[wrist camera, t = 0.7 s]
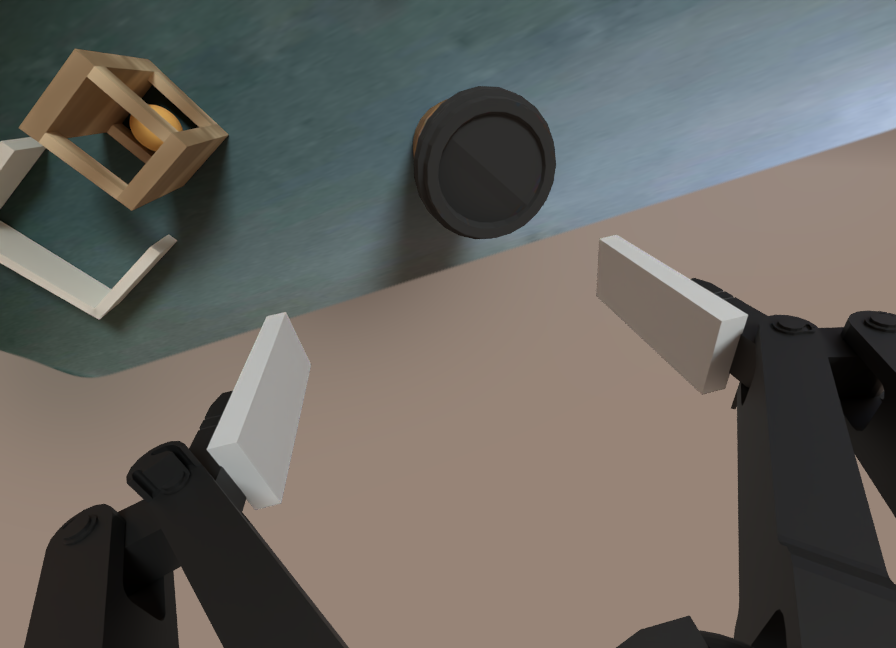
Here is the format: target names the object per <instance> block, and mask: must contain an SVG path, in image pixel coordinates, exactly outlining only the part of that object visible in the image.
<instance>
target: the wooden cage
mask: <svg viewBox="0 0 896 648" xmlns="http://www.w3.org/2000/svg"><path fill="white" fill-rule="evenodd" d="M152 85H154V86H155V87H156V88H157V89H158V90H159V91H160V92H161V93H162V94H163V95H165V96H166V97H167V98H168V99H169V100H170V101H171V102H172V103H173V104H174V105H176V106H177V107H178V108H179V109H180V110H181V111H182V112H183V113H184V114H185V115H186V116H188V117H189V118H190V119H191V120H192V121H193V122H194V123H195V124H196V125H197V126H199V127H200V128H195V129H189V130H184V131H177V130H176V129H175V128H174V127H173V126H172V125H171V124H170V123H168V122H167V121H166V120H165V119H164V118H163V117H162V116H160V115H159V114H158V113H157V112H156V111H155V110H154V109H153V108H151V107H150V106H149V105H148V104H147V103H146V102H145V101H143V100H142V97H143V96H144V95H145V94H146V92H147V91H148V90H149V89H150V87H151V86H152ZM129 114H131V115H132V116H134V117H135V118H136V119H137V120H138V121H139V122H141V123H142V124H143V125H144V126H145V127H147V128H148V129H149V130H150V131H151V132H152V133H154V134H155V135H156V136H157V137H158V138H159V139H161V140H162V141H163V142H164V143H163V144H162V145H161V146H160V147H159V149H158V150H157V151H153V150H150V149H148V148H146V147H145V146H143V145H142V144H141V143H140V142H139V141H138V140H137V139H136V138H135V137H134V135H133V133H132V132H131V131H130V130H129V129H128V128H127V127H125V126H124V125H123V124H122V123H123V121H124V120H125V119H126V118H127V116H128V115H129ZM19 128H20V129H21V130H22V131H24V132H25V133H26V134H28V135H29V136H30V137H32V138H33V139H35V140H36V141H37V142H39V143H40V144H41V145H43V146H44V147H45V148H47V149H48V150H50V151H51V152H52V153H54V154H55V155H56V156H58V157H59V158H60V159H62V160H63V161H65V162H66V163H67V164H69V165H70V166H71V167H73V168H74V169H75V170H77V171H78V172H80V173H81V174H82V175H84V176H85V177H86V178H88V179H89V180H90V181H92V182H93V183H95V184H96V185H97V186H99V187H100V188H101V189H103V190H104V191H105V192H107V193H108V194H110V195H111V196H112V197H114V198H115V199H116V200H118V201H119V202H121V203H122V204H123V205H125V206H126V207H127V208H129V209H130V210H131V211H132V210H135V209H137V208H139V207H141V206H143V205H145V204H147V203H149V202H151V201H153V200H155V199H157V198H159V197H162V196H164V195H166V194H168V193H170V192H172V191H174V190H176V189H178V188H180V187H182V186H184V185H185V184H186V182H187V181H188V180H189V179H190V178H191V177H192V176H193V175H194V173H195V172H196V171H197V170H198V169H199V168H200V167H201V165H202V164H203V163H204V162H205V161H206V160H207V159H208V158H209V156H210V155H211V154H212V153H213V152H214V151H215V150H216V149H217V147H218V146H219V145H220V144H221V143H222V142H223V141H224V140H225V138H226V137H227V136H228V134H227V133H226V132H225V131H224V130H223V129H222V128H221V127H220V126H219V125H218V124H217V123H216V122H215V121H213V120H212V119H211V118H210V117H209V116H208V115H207V114H206V113H205V112H204V111H203V110H202V109H201V108H200V107H199V106H198V105H196V104H195V103H194V102H193V101H192V100H191V99H190V98H189V97H188V96H187V95H186V94H185V93H184V92H183V91H182V90H180V89H179V88H178V87H177V86H176V85H175V84H174V83H173V82H172V81H171V80H170V79H169V78H168V77H167V76H166V75H165V74H163V73H162V72H161V71H160V70H159V69H158V68H157V67H156V66H155V65H154V64H153V63H152V62H151V61H150V60H148V59H141V58H135V57H128V56H121V55H114V54H108V53H101V52H94V51H87V50H80V49H74V51H73V52H72V54H71V55H70V56H69V58H68V59H67V61H66V62H65V63H64V65H63V66H62V68H61V69H60V70H59V72H58V73H57V75H56V76H55V77H54V79H53V80H52V82H51V83H50V84H49V86H48V87H47V89H46V90H45V91H44V93H43V94H42V96H41V97H40V98H39V100H38V101H37V103H36V104H35V105H34V107H33V108H32V110H31V111H30V113H29V114H28V115H27V117H26V118H25V120H24V121H23V122H22V124H21V125H20V127H19ZM106 132H107V133H108V134H109V135H110V136H112V137H113V138H114V139H115V140H117V141H118V142H119V143H120V144H122V145H123V146H124V147H125V148H127V149H128V150H129V151H130V152H132V153H133V154H134V155H135V156H137V157H138V158H139V159H140V160H142V161H143V162H144V163H145V165H144V166H143V168H142V169H141V170H140V171H139V172H138V174H137V175H136V176H135V177H134V178H133V180H132V181H131V182H130V183H129V184H128V185H127V184H126V183H125V182H124V181H122V180H121V179H120V178H118V177H117V176H116V175H114V174H113V173H112V172H110V171H109V170H108V169H106V168H105V167H104V166H102V165H101V164H100V163H99V162H97V161H96V160H95V159H93V158H92V157H91V156H89V155H88V154H87V153H85V152H84V151H83V150H81V149H80V148H79V147H78V146H76V145H75V144H74V143H72V142H71V141H70V140H68V139H67V138H71V137H78V136H85V135H92V134H99V133H106Z"/></svg>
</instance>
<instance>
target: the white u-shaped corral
mask: <svg viewBox="0 0 896 648" xmlns="http://www.w3.org/2000/svg"><path fill="white" fill-rule="evenodd" d="M45 149H46V148H45V147H44V146H43V145H41V144H40V143H39V142H37V141H36V140H35V139H33V138H32V137H28V138H20V139H12V140H4V141H0V209H1V208H2V206H3V205H4V204H5V202H6V201H7V200H8V198H9V197H10V196H11V194H12V193H13V192H14V190H15V189H16V188H17V186H18V185H19V184H20V182H21V181H22V180H23V178H24V177H25V176H26V174H27V173H28V172H29V170H30V169H31V167H32V166H33V165H34V163H35V162H36V161H37V159H38V158H39V157H40V155H41V154H42V153H43V151H44V150H45ZM176 242H177V240H176V239H174V238H173V237H172V236H170V235H169V234H168V235H167V236H165V237H164V238H162V239H161V240H159V241H158V242H156V243H155V244H154V245H152V246H151V247H150V248H149V249H148V250H147V251H146V252H145V253H144V254H143V255H142V257H141V258H140V259H139V260H138V261H137V262H136V263H135V264H134V265H133V266H132V268H131V269H130V270H129V271H128V272H127V273H126V274H125V275H124V276H123V278H122V279H121V280H120V281H119V282H118V283H117V284H116V285H115V286H114V287H113V289H110V288H108V287H107V286H105V285H104V284H102V283H100V282H99V281H97V280H95V279H94V278H92V277H91V276H89V275H87V274H86V273H84V272H83V271H81V270H79V269H78V268H76V267H74V266H73V265H71V264H70V263H68V262H66V261H65V260H63V259H62V258H60V257H58V256H57V255H55V254H54V253H52V252H50V251H49V250H47V249H45V248H44V247H42V246H41V245H39V244H37V243H36V242H34V241H33V240H31V239H29V238H28V237H26V236H24V235H23V234H21V233H20V232H18V231H16V230H15V229H13V228H12V227H10V226H8V225H7V224H5V223H3V222H2V221H0V263H1V264H3V265H5V266H6V267H8V268H10V269H12V270H13V271H15V272H17V273H19V274H20V275H22V276H24V277H26V278H27V279H29V280H31V281H33V282H34V283H36V284H38V285H39V286H41V287H43V288H45V289H46V290H48V291H50V292H52V293H53V294H55V295H57V296H59V297H60V298H62V299H64V300H66V301H67V302H69V303H71V304H73V305H74V306H76V307H78V308H80V309H81V310H83V311H85V312H86V313H88V314H90V315H92V316H93V317H95V318H97V319H99V320H100V319H101V318H102V317H103V316H104V315H106V314H107V313H108V312H109V311H111V310H112V309H113V308H114V307H115V306H117V305H118V304H119V303H120V302H121V301H122V300H123V299H124V298H125V297H126V296H127V295H128V294H129V293H130V291H131V290H132V289H133V288H134V287H135V286H136V285H137V284H138V283H139V282H140V281H141V280H142V278H143V277H144V276H145V275H146V274H147V273H148V272H149V271H150V270H151V269H152V268H153V267H154V265H155V264H156V263H157V262H158V261H159V260H160V259H161V258H162V257H163V256H164V255H165V254H166V252H167V251H168V250H169V249H170V248H171V247H172V246H173V245H174V244H175V243H176Z"/></svg>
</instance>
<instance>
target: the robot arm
mask: <svg viewBox="0 0 896 648" xmlns="http://www.w3.org/2000/svg"><path fill="white" fill-rule="evenodd" d="M596 296H597V297H598V298H599V299H600V300H601V301H602V302H603V303H604V304H606V305H607V306H608V307H609V308H610V309H611V310H612V311H613V312H614V313H615V314H616V315H617V316H618V317H620V318H621V319H622V320H623V321H624V322H625V323H626V324H627V325H628V326H629V327H630V328H631V329H632V330H633V331H634V332H636V333H637V334H638V335H639V336H640V337H641V338H642V339H643V340H644V341H645V342H646V343H647V344H648V345H649V346H650V347H652V348H653V349H654V350H655V351H656V352H657V353H658V354H659V355H660V356H661V357H662V358H663V359H664V360H665V361H666V362H668V363H669V364H670V365H671V366H672V367H673V368H674V369H675V370H676V371H677V372H678V373H679V374H681V376H683V377H684V378H685V379H686V380H687V381H688V382H689V383H690V384H691V385H692V386H694V388H695V389H696V390H697V391H699V392H700V393H701V394H702V395H703V394H707V393H711V392H714V391H718V390H722V389H725V388H726V384H727V381H728V378H729V374H731V375H733V376H734V377H735V378H736V379H738V380H739V381H740V383H739V386H738V389H737V392H736V395H735V398H734V401H733V404H732V407H731V408H732V409H736V407H737V430H738V431H737V438H738V521H739V522H738V523H739V525H738V526H739V527H738V528H739V611H738V617H737V622H736V626H735V633H734V639H733V638H730V637H727V636H724V635H721V634H716V633H711V632H706V631H699V630H698V629H697V627H696V625H695V624H694V622H693V620H692V619H691V617H690V616H686V617H683V618H679V619H676V620H673V621H669V622H666V623H662V624H659V625H655V626H652V627H648V628H645V629H641V630H639V631H638V632H636V633H635V634H634V635H633V636H631V637H630V638H628V639H627V640H626V641H625V642H623V643H622V644H620V645H619V646H618V647H616V648H896V584H894V583H893V582H892V581H891V580H890V578H889V576H888V573H887V571H886V567H885V563H884V560H883V556H882V552H881V549H880V545H879V541H878V538H877V534H876V530H875V527H874V523H873V520H872V516H871V513H870V509H869V505H868V501H867V498H866V494H865V490H864V487H863V483H862V480H861V476H860V472H859V469H858V465H857V461H856V458H855V455H856V457H857V458H858V460H859V461H860V463H861V465H862V466H863V468H864V469H865V471H866V472H867V474H868V475H869V477H870V479H871V480H872V482H873V483H874V485H875V486H876V488H877V489H878V491H879V493H880V494H881V496H882V497H883V499H884V500H885V502H886V503H887V505H888V506H889V508H890V509H891V511H892V513H893V514H894V516H895V517H896V315H895V314H891V313H887V312H881V311H878V312H877V311H860V312H856V313H853V314H851V315H850V316H849V318H848V320H847V322H846V324H845V326H844V327H838V328H818V327H817V326H816V325H814V324H812V323H811V322H809V321H807V320H804V319H801V318H799V317H793V316H789V315H773V316H767V315H765V314H763V313H761V312H760V311H758V310H756V309H755V308H752V307H751V306H749V305H747V304H746V303H744V302H743V301H741V300H739V299H737V298H736V297H735V298H733V296H732V295H731V294H729V293H727V292H723V290H722V289H720V288H718V287H717V286H715V285H713V284H712V283H709V282H706V281H703V280H699V279H696V278H692V279H689V278H687V277H685V276H683V275H682V274H680V273H679V272H677V271H675V270H674V269H672V268H671V267H669V266H667V265H666V264H664V263H662V262H661V261H659V260H657V259H656V258H654V257H652V256H651V255H649V254H647V253H646V252H644V251H643V250H641V249H639V248H638V247H636V246H634V245H632V244H631V243H629V242H628V241H626V240H624V239H623V238H621V237H620V236H618V235H614V236H609V237H605V238H601V239H599V254H598V273H597V293H596ZM310 367H311V363H310V361H309V359H308V357H307V355H306V353H305V351H304V349H303V347H302V345H301V343H300V340H299V338H298V337H297V334H296V332H295V330H294V328H293V326H292V324H291V322H290V320H289V317H288V315H287V313H286V312H284V313H279V314H275V315H271V316H267V317H266V319H265V321H264V324H263V326H262V328H261V330H260V333H259V335H258V337H257V339H256V341H255V344H254V346H253V348H252V350H251V353H250V355H249V357H248V359H247V361H246V364H245V366H244V368H243V370H242V373H241V375H240V377H239V379H238V381H237V383H236V386H235V388H234V390H233V391H230V392H225V393H222V394H221V395H220V396H219V397H218V398H217V399H216V401H215V402H214V403H213V404H212V405H211V406H210V408H209V410H208V412H207V414H206V416H205V420H203V422H202V424H201V426H200V430H199V431H198V432H197V434H196V436H195V438H194V440H193V442H192V444H191V446H190V448H189V449H188V447H187V446H186V445H185V444H184V443H182V442H180V441H171V442H167V443H164V444H161V445H159V446H157V447H155V448H153V449H152V450H150V451H148V452H147V453H146V454H144V455H143V456H142V457H141V458H139V459H138V460H137V462H136V463H135V464H134V465H133V466H132V467H131V469H130V470H129V473H128V474H127V484H128V485H129V486H130V487H131V488H132V489H134V490H135V491H136V492H137V493H138V494H139V495H140V496H141V497H142V498H143V499H144V500H142V501H140V502H138V503H136V504H134V505H131V506H130V507H127V508H125V509H123V510H121V511H119V512H117V511H115V510H114V509H113V508H112V507H111V506H108V505H106V504H101V505H95V506H92V507H90V508H88V509H86V510H83V511H82V512H80V513H78V514H77V515H75V516H74V517H72V518H71V519H70V520H68V521H67V522H66V523H65V524H64V525H63V526H62V527H61V528H60V529H59V530H58V531H57V532H56V533H55V535H54V536H53V537H52V539H51V540H50V542H49V544H48V547H47V549H46V553H45V557H44V561H43V566H42V570H41V575H40V580H39V584H38V588H37V592H36V597H35V601H34V605H33V610H32V614H31V619H30V623H29V628H28V632H27V637H26V641H25V645H24V648H179V642H178V628H177V614H176V601H175V588H174V574H173V570H175V569H177V568H179V567H180V566H181V567H182V569H183V571H184V573H185V575H186V577H187V579H188V580H189V582H190V584H191V586H192V588H193V590H194V592H195V594H196V596H197V598H198V599H199V601H200V603H201V605H202V607H203V609H204V611H205V613H206V615H207V616H208V618H209V620H210V622H211V624H212V626H213V628H214V630H215V632H216V634H217V636H218V637H219V639H220V641H221V643H222V645H223V647H224V648H348V646H347V645H346V643H345V642H344V641H343V640H342V638H341V637H340V636H339V635H338V633H337V632H336V631H335V630H334V628H333V627H332V626H331V624H330V623H329V622H328V621H327V620H326V618H325V617H324V615H323V614H322V613H321V612H320V611H319V609H318V608H317V607H316V605H315V604H314V603H313V601H312V600H311V599H310V598H309V596H308V595H307V594H306V593H305V591H304V590H303V589H302V588H301V586H300V585H299V584H298V582H297V581H296V580H295V579H294V577H293V576H292V575H291V573H289V571H288V570H287V568H286V567H285V566H284V565H283V564H282V562H281V561H280V560H279V558H278V557H277V556H276V554H275V553H274V552H273V551H272V549H271V548H270V547H269V546H268V544H267V543H266V542H265V540H264V539H263V538H262V537H261V535H260V534H259V533H258V532H257V530H256V529H255V528H254V526H253V525H252V524H251V523H250V521H249V520H248V519H247V518H246V516H245V515H244V514H243V513H242V511H243V507H244V504H245V501H246V499H247V501H248V502H249V503H250V504H251V506H252V507H253V508H254V509H255V510H258V509H261V508H265V507H269V506H273V505H276V504H281V502H282V498H283V493H284V488H285V483H286V479H287V474H288V470H289V465H290V460H291V456H292V451H293V446H294V442H295V437H296V432H297V428H298V423H299V419H300V414H301V409H302V404H303V400H304V395H305V391H306V386H307V381H308V377H309V372H310Z"/></svg>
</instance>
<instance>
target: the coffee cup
mask: <svg viewBox="0 0 896 648" xmlns="http://www.w3.org/2000/svg"><path fill="white" fill-rule="evenodd" d="M413 156H414V178H415V182H416V186H417V189H418V193H419V196H420V198H421V200H422V201H423V203H424V205H425V207H426V208H427V210H428V212H429V213H430V214H431V215H432V216H433V217H434V218H435V219H437V220H438V221H439V222H440V223H441V224H442V225H443V226H444V227H445V228H447V229H449V230H451V231H452V232H454V233H456V234H458V235H460V236H464V237H469V238H473V239H490V238H496V237H500V236H503V235H507V234H510V233H512V232H514V231H515V230H517V229H519V228H521V227H522V226H524V225H525V224H526V223H527V222H529V221H530V220H531V219H532V218H533V217H534V216H535V215H536V214H537V213H538V211H539V210H540V208H541V207H542V205H543V204H544V202H545V201H546V200H547V197H548V195H549V192H550V190H551V187H552V185H553V181H554V174H555V168H556V160H555V147H554V142H553V139H552V136H551V133H550V130H549V127H548V124H547V122H546V121H545V120H544V118H543V117H542V115H541V114H540V112H539V111H538V109H537V108H536V107H535V106H533V105H532V104H531V103H530V102H528V101H527V100H526V99H524V98H523V97H522V96H520V95H517V94H516V93H513V92H511V91H508V90H505V89H502V88H500V87H485V86H478V87H474V88H471V89H467V90H464V91H461V92H458V93H457V94H455V95H454V96H452V97H451V98H449V99H447V100H444V101H442V102H440V103H438V104H437V105H435V106H434V107H432V108H430V109H429V110H428V111H427V112H426V113H425V114H424V116H423V117H422V118H421V119H420V121H419V123H418V125H417V127H416V130H415V134H414V139H413Z"/></svg>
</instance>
